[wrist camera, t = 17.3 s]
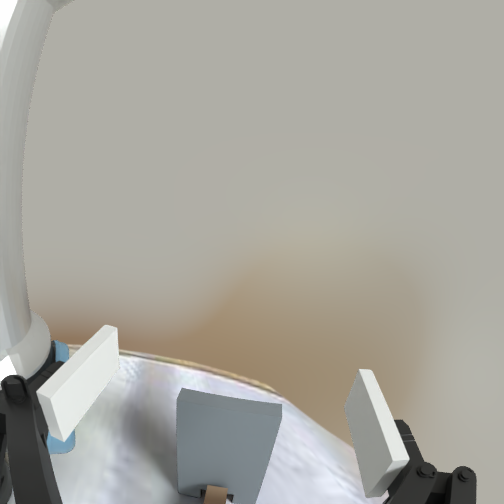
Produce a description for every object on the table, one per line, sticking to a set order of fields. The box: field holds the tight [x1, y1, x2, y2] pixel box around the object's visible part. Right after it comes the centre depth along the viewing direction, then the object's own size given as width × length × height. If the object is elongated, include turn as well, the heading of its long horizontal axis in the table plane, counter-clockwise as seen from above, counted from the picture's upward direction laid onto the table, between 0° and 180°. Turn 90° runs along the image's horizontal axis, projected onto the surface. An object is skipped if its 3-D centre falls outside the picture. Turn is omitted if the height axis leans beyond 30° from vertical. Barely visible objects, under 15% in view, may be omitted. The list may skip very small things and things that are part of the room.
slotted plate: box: [177, 388, 282, 504], centre depth 29 cm, size 10×2×18 cm, turn 86°
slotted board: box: [203, 485, 228, 504], centre depth 35 cm, size 24×2×5 cm, turn 176°
